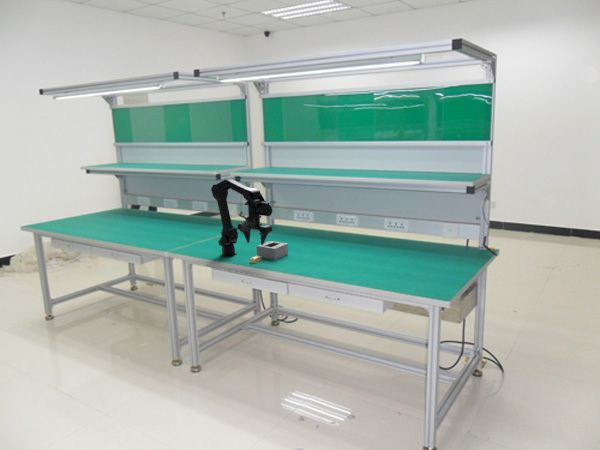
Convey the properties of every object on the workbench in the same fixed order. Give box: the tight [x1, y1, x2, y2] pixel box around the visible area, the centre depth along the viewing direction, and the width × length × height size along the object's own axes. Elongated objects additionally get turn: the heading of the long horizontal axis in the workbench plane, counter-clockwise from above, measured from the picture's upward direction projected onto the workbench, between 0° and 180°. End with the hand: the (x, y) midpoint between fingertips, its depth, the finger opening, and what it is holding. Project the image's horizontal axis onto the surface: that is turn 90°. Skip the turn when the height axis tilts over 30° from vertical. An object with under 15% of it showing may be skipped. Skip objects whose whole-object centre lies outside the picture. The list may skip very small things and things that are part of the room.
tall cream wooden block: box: [249, 255, 263, 264], centre depth 240 cm, size 3×6×2 cm, turn 147°
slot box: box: [256, 240, 289, 261], centre depth 249 cm, size 12×12×6 cm
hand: (255, 243), depth 238 cm, fingers open, 9 cm apart
